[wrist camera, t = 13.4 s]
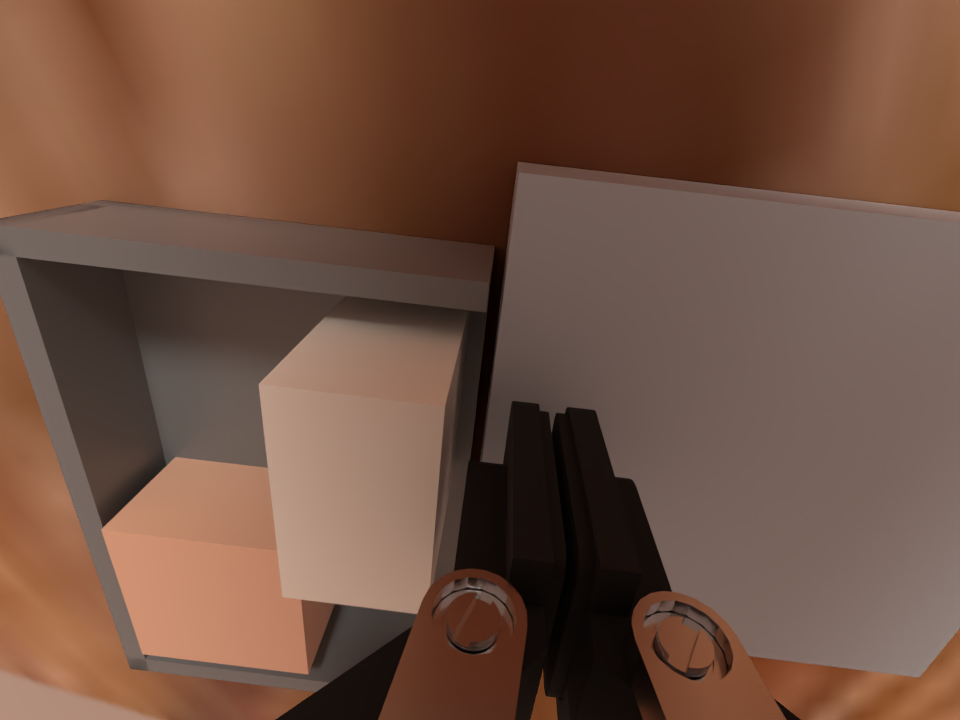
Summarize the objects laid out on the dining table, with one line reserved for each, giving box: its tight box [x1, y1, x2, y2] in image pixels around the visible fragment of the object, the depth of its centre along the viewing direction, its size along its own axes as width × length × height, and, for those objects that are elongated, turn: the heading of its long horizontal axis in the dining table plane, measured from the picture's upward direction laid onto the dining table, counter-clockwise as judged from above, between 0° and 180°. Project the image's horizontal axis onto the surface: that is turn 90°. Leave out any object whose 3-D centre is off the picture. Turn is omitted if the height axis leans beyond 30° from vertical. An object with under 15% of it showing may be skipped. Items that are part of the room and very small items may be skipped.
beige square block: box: [259, 296, 469, 614], centre depth 11 cm, size 5×5×3 cm
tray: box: [0, 200, 495, 692], centre depth 14 cm, size 14×10×3 cm
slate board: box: [480, 162, 960, 677], centre depth 12 cm, size 12×13×3 cm
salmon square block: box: [101, 457, 335, 674], centre depth 15 cm, size 5×5×3 cm
